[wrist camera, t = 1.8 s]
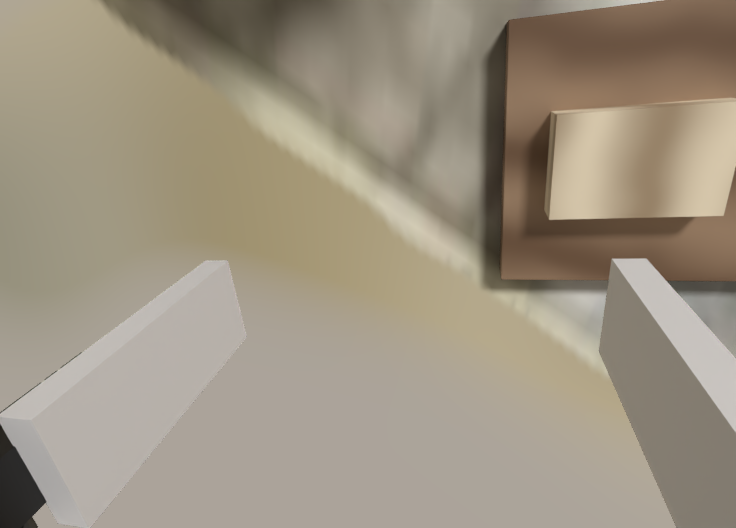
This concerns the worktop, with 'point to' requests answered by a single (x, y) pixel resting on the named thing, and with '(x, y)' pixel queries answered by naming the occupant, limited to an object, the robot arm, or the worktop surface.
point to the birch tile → (641, 160)
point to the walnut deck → (608, 89)
